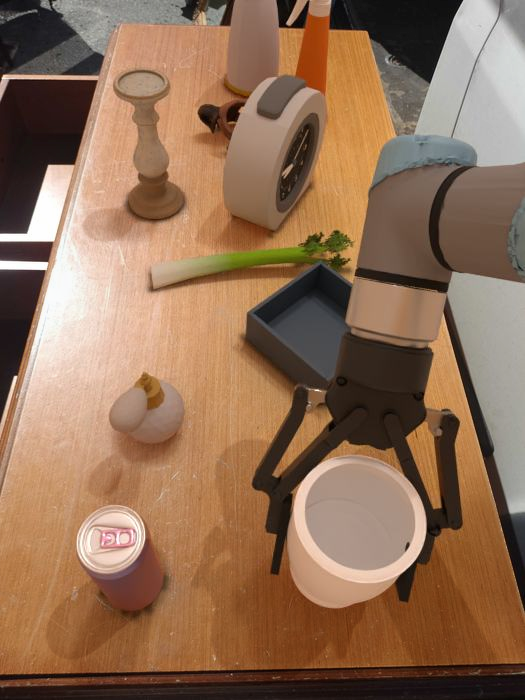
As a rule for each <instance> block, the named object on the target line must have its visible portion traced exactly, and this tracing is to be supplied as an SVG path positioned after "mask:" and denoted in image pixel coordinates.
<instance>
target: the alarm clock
mask: <svg viewBox="0 0 525 700" xmlns="http://www.w3.org/2000/svg"><path fill="white" fill-rule="evenodd" d="M246 101H247V102H246V104H245V106H244V107H242V110H241V111H240V116H239V118H238V121H237V122H235V125H234V127H233V128H234V129H232V130H233V133H232V137H231V140H230V144H229V143H228V144H229V147H228V150H227V149H226V156H225V161H224V165H223V173H222V188H221V189H222V197H223V198H222V199H223V203H224V206H225V208H226V210H227V212H229V213H230V214H231V215H232V216H235V217H237V218H240V219H242V220H244V221H247V222H248V223H249V222H250V223H253V224H254V225H257V226H260V227H262V228H265V229H267V230H270V231H276V230H277V229H278V228H279V227H280V225H281V224H282V222H283V221H284V220H285V218H286V217H287V216H288V214H289V213H290V211H291V210H292V209H293V208H294V206H295V205H296V203H297V202H298V200H300V198H301V197H302V195H303V194H304V193H305V191H306V190H307V188H308V187H309V185H310V183H311V181H312V178H313V175H314V172H315V170H316V167H317V164H318V162H319V157H320V154H321V151H322V148H323V142H324V137H325V132H326V126H327V118H328V109H327V106H328V105H327V101H326V95H325V96H324V95H323V94H322V93H321V92H320V91H317V90H314V89H311V88H308V87H306V81H305V80H303V79H301V78H298V77H295V75H291V74H287V73H286V74H282V75H280V76H279V78H278V77H271V78H267V79H266V80H264V81H263V82H262V83H260V84H259V85H258V87H257V88H256V89H255V90H254V92H253V93H252V94H251V95H250V97H249V96H248V99H247V100H246Z"/></svg>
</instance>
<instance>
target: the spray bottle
mask: <svg viewBox="0 0 525 700" xmlns="http://www.w3.org/2000/svg"><path fill="white" fill-rule="evenodd" d="M308 1H309V2H308ZM307 3H308V11H307V15H306V20H305V25H304V29H303V35H302V40H301V45H300V49H299V55H298V60H297V64H296V68H295V69H296V70H295V74H294V76H295V77H298V78H301V79H303V80H305V81H306V87H308V88H311V89H314V90H317V91H320V92H321V93H322V94H323V95H324V96H325V97H326V90H327V72H328V57H329V56H328V55H329V36H330V20H331V19H330V18H331V6H332V0H296V2H295V5H294V7H293V9H292V11H291V14H290V16H289V17H288V20H287V21H286V23H285V25H287V26H288V27H291V26H292V24H294V22H295V21H296V20H297V19H298V17H299V15H300V14H301V12H302V11H303V9H304V8H305V6H306V4H307Z"/></svg>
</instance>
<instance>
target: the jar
mask: <svg viewBox="0 0 525 700" xmlns="http://www.w3.org/2000/svg"><path fill="white" fill-rule="evenodd" d="M295 493H296V494H295V497H294V501H293V504H292V508H291V513H290V518H289V523H288V528H287V534H286V539H285V545H286V546H285V547H286V553H287V557H288V560H289V571H290V574H291V575H290V576H291V578H292V580H293V583H294V584H295V586H296V587H297V589H298V591H299V592H300V593H301V594H302V595H303V596H304V597H305V598H306V599H307V600H309V601H310V602H312V603H314V604H316V605H318V606H320V607H322V608H327V609H328V608H329V609H342V608H346V607H349V606H352V605H354V604H358V603H362V602H366V601H369V600H371V599H374V598H376V597H378V596H379V595H381V594H382V593H384V592H385V591H387V590H388V589H390V587H391V586H393V584H395V581H396V580H397V578H398V577H399V576H400V574H402V573H403V572H404V571H405V570H406V569H407V568H409V567H410V566H411V565H412V563H413V562H414V561H415V560H416V558H417V557H418V555H419V553H420V551H421V549H422V547H423V544H424V541H425V536H426V515H425V510H424V507H423V504H422V501H421V499H420V497H419V495H418V493H417V491H416V490H415V488H414V487H413V485H412V484H411V483H410V481H409V480H408V479H407V478H406V477H405V476H404V473H403V472H401V471H399V470H398V469H397V468H396V467H394V466H392V465H391V464H389V463H388V462H385V461H383V460H381V459H378V458H376V457H373V456H368V455H362V454H344V455H338V456H334V457H332V458H329V459H326V460H325V461H323V462H320V463H319V464H318V465H317V466H316V467H315V468H314V469H313V470H312V471H311V472H310V473H309V474H308V475H307V476H306V477H305V479H304V480H303V481H302V482H301V483H300V484H299V487H298V489H297V491H296V492H295ZM407 542H409V543H410V546H409V548H408V549H407V551H406V552H405V547H406V544H407Z"/></svg>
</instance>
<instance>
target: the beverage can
mask: <svg viewBox="0 0 525 700" xmlns="http://www.w3.org/2000/svg"><path fill="white" fill-rule="evenodd" d="M75 549H76V551H75V552H76V557H77V561H78V563H79V565H80V566H81V568H82V569H83V570H84V572H85V573H86V574H87V575H88V577H90V578H91V580H92V581H93V582H94V584H95V585H96V586H97V587H98V589H99V590H100V591H101V592H102V594H103V595H104V596H105V597H106V599H107V600H108V601H109V602H110V604H112V606H114V607H115V608H117V609H119V610H122V611H126V612H135V611H139V610H142V609H144V608H146V607H148V606H149V605H150V604H152V603H153V602H154V601H155V600H156V599H157V597H158V596H159V594H160V593H161V591H162V588H163V584H164V570H163V566H162V563H161V560H160V557H159V555H158V552H157V548H156V546H155V544H154V540H153V538H152V535H151V532H150V529H149V527H148V524H147V522H146V521H145V519H144V518H143V517H142V515H140V513H138V512H137V511H135V510H134V509H132V508H130V507H129V506H126V505H123V504H109V505H104V506H102V507H100V508H98V509H95V510H94V511H92V512H91V513H90V514H89V515H88V516H87V517H86V518H85V519H84V520H83V521H82V522H81V525H80V526H79V529H78V531H77V534H76V539H75Z"/></svg>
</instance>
